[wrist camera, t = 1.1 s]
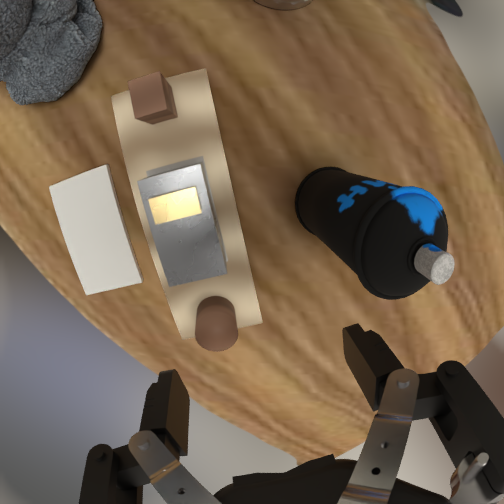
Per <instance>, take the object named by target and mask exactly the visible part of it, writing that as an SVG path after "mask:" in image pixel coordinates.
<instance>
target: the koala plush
mask: <svg viewBox="0 0 504 504" xmlns="http://www.w3.org/2000/svg"><path fill="white" fill-rule="evenodd" d="M95 8H96V6H95V3H94V2H93V0H0V81H2V80H3V81H4V82H5V81H6V88H7V90H8V91H9V94H11V95H10V97H11V98H12V99H13V101H15V102H16V103H17V104H19V105H25V104H26V105H27V104H31V103H37V102H44V101H45V102H50V101H56V100H57V99H58V98H60V97H62V95H64V93H65V92H66V91H68V90H69V89H70V88H71V87H72V86H73V85H74V84H75V83H77V81H78V80H79V79H80V78H81V75H82V73H83V70H84V69H85V66H86V65H87V62H88V61H89V60H90V58H91V56H92V54H93V53H94V52H95V50H96V49H97V45H98V42H99V40H100V32H101V28H102V23H101V22H102V20H101V16H100V15H99V12H98V11H97V10H96V9H95Z"/></svg>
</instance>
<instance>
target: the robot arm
mask: <svg viewBox="0 0 504 504" xmlns="http://www.w3.org/2000/svg"><path fill="white" fill-rule="evenodd" d="M254 1H256V2H257V3H259V4H261V5H263V6H266V7H270V8H273V9H279V10H292V9H298V8H301V7H304V6H306V5H308V4H309V3H310V2H312V1H313V0H254ZM343 345H344V355H345V359H346V362H347V364H348V366H349V368H350V370H351V371H352V373H353V375H354V377H355V379H356V380H357V382H358V384H359V386H360V388H361V390H362V391H363V393H364V395H365V397H366V399H367V401H368V403H369V404H370V406H371V408H372V410H373V411H376V410H378V412H377V415H375V417H374V419H373V422H372V425H371V428H370V431H369V433H368V436H367V439H366V441H365V444H364V447H363V449H362V452H361V454H360V457H359V459H358V461H356V460H350V459H335V458H334V455H333V454H331V455H327V456H324V457H321V458H317V459H314V460H310V461H308V462H306V463H304V464H302V465H300V466H298V467H296V468H293V469H291V470H289V471H287V472H284V473H253V474H247V475H242V476H235V477H233V483H232V484H230V485H227V486H226V487H224V488H222V489H220V490H219V491H218V492H217V493H215V494H214V495H212V494H211V493H210V492H208V491H207V490H206V489H205V488H204V487H203V486H202V485H201V484H200V483H199V482H198V481H197V480H196V479H195V478H194V477H193V476H192V475H191V474H190V473H189V472H188V471H187V469H186V468H185V467H184V466H183V465H182V464H181V463H180V462H179V458H180V456H187V453H188V426H189V405H190V399H189V394H188V391H187V389H186V387H185V385H184V384H183V382H182V380H181V378H180V376H179V374H178V372H177V371H176V370H175V369H173V370H167V371H161V372H160V373H159V377H158V382H157V383H152V385H151V386H150V388H149V389H148V391H147V394H146V401H145V405H144V409H143V414H142V419H141V425H140V430H139V432H138V433H136V434H135V435H133V436H132V437H131V439H130V441H129V444H127V445H125V446H121V447H118V448H115V449H112V448H111V447H110V446H108V445H106V444H99V445H96V446H94V447H93V448H92V449H91V450H90V451H89V453H88V456H87V460H86V466H85V471H84V476H83V482H82V487H81V493H80V499H79V504H142V499H143V498H142V497H143V485H145V484H149V483H151V484H152V485H153V486H154V488H155V489H156V490H157V491H158V493H159V494H160V495H161V496H162V497H163V499H164V500H165V501H166V502H167V504H496V503H497V502H499V501H500V500H501V499H502V498H504V418H503V417H502V416H501V414H500V413H499V411H498V410H497V409H496V407H495V406H494V404H493V403H492V402H491V400H490V399H489V398H488V397H487V395H486V394H485V392H484V391H483V390H482V389H481V387H480V386H479V385H478V383H477V382H476V381H475V379H474V378H473V377H472V376H471V374H470V373H469V372H468V370H467V369H466V368H465V367H464V366H463V365H462V364H461V363H460V362H457V361H446V362H443V363H442V364H440V365H439V367H438V368H437V372H432V373H426V374H417V373H416V372H414V371H413V370H411V369H405V368H404V367H403V365H402V364H401V363H400V361H399V360H398V359H397V357H396V356H395V355H394V353H393V352H392V351H391V349H390V348H389V347H388V345H387V344H386V343H385V341H384V340H383V339H382V337H381V336H380V335H379V334H377V333H375V332H374V331H372V330H369V331H366V332H364V330H363V329H362V327H361V326H360V325H359V324H358V323H357V324H354V325H351V326H348V327H345V328H343ZM424 418H429V420H430V422H431V423H432V425H433V427H434V429H435V430H436V432H437V434H438V436H439V438H440V440H441V441H442V443H443V445H444V447H445V449H446V451H447V453H448V454H449V456H450V458H451V460H452V462H453V464H454V466H455V468H456V470H455V471H454V472H453V474H452V476H451V479H450V485H451V489H452V492H451V497H450V499H449V500H448V499H447V498H446V497H444V496H442V495H440V494H437V493H434V492H431V491H428V490H426V489H423V488H420V487H418V486H415V485H412V484H410V483H408V482H405V481H403V480H400V479H398V478H396V476H397V473H398V470H399V467H400V464H401V460H402V457H403V454H404V450H405V446H406V443H407V439H408V435H409V431H410V427H411V423H412V421H413V420H419V419H424Z"/></svg>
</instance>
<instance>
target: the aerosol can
mask: <svg viewBox="0 0 504 504" xmlns="http://www.w3.org/2000/svg"><path fill="white" fill-rule="evenodd" d="M295 207H296V213H297V217H298V219H299V221H300V223H301V224H302V225H303V227H304V228H305V229H306V230H308V231H309V232H310V233H312V234H314V235H316V236H317V237H318V238H319V239H320V240H322V241H323V242H324V243H325V244H326V245H327V246H328V247H329V248H330V249H331V250H332V251H333V252H334V253H335V254H336V255H337V256H338V257H339V258H340V259H342V260H343V261H344V262H345V263H346V264H347V265H348V266H349V267H350V268H351V269H352V270H353V271H354V272H355V273H356V274H357V275H358V278H359V280H360V282H361V283H362V285H363V286H364V287H365V288H366V289H367V290H368V291H369V292H370V293H371V294H373V295H375V296H377V297H379V298H383V299H388V300H392V299H400V298H405V297H407V296H409V295H412V294H414V293H415V292H417V291H418V290H420V289H421V288H422V287H424V286H425V285H426V284H427V283H428V282H430V281H432V282H433V283H435V284H437V285H440V284H443V283H444V282H446V281H447V280H448V279H449V278H450V276H451V275H452V272H453V270H454V259H453V257H452V255H451V254H449V253H447V252H446V250H447V241H448V224H447V219H446V215H445V212H444V210H443V208H442V206H441V204H440V203H439V201H438V200H437V199H436V198H435V197H434V196H433V195H432V194H431V193H430V192H428V191H426V190H424V189H422V188H418V187H414V186H409V187H402V186H398V185H395V184H391V183H387V182H384V181H380V180H376V179H372V178H368V177H364V176H360V175H356V174H352V173H348V172H346V171H345V170H342V169H340V168H336V167H324V168H320V169H317V170H315V171H314V172H312V173H311V174H309V175H308V176H307V177H306V178H305V179H304V180H303V181H302V183H301V185H300V187H299V188H298V191H297V194H296V200H295Z"/></svg>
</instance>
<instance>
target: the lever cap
mask: <svg viewBox="0 0 504 504" xmlns="http://www.w3.org/2000/svg"><path fill="white" fill-rule="evenodd" d="M137 183H138V187H139V191H140V194H141V198H142V202H143V205H144V209H145V212H146V216H147V219H148V223H149V226H150V229H151V233H152V236H153V239H154V242H155V246H156V249H157V252H158V255H159V258H160V261H161V264H162V267H163V270H164V273H165V276H166V279H167V282H168V285H169V287H172V286H176V285H181V284H185V283H190V282H194V281H199V280H203V279H207V278H212V277H216V276H220V275H225V274H227V264H226V255H225V251H224V247H223V243H222V239H221V235H220V231H219V227H218V223H217V219H216V215H215V211H214V207H213V203H212V199H211V194H210V190H209V186H208V182H207V178H206V173H205V169H204V165H203V162H200V163H196V164H192V165H188V166H184V167H180V168H176V169H173V170H169V171H165V172H162V173H158V174H155V175H151V176H148V177H146V178H144V179H141V180H139V181H137Z"/></svg>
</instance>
